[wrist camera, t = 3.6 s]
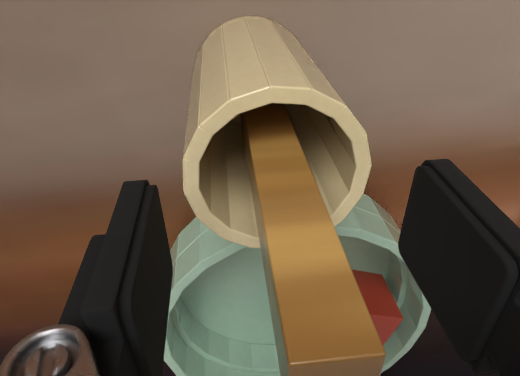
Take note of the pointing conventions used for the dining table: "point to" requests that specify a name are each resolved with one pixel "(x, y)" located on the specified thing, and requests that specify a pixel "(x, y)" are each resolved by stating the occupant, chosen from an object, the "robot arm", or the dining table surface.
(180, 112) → the dining table surface
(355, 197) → the crock
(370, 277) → the block
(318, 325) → the stick
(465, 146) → the dining table surface
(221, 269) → the bowl
